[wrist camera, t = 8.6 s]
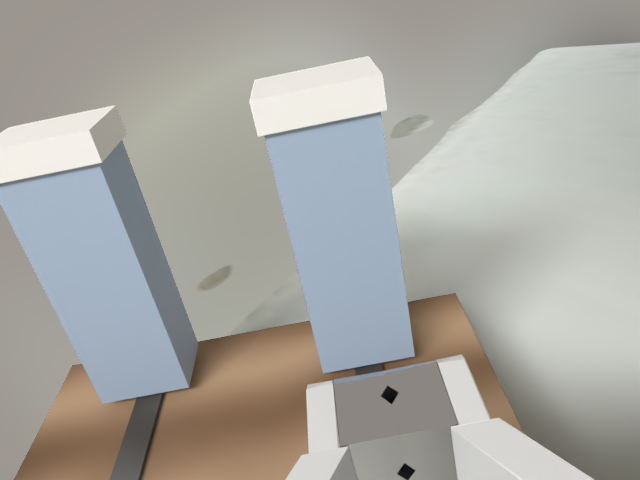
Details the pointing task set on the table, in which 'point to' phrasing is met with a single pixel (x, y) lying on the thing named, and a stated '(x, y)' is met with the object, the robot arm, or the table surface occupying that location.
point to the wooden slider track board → (231, 407)
